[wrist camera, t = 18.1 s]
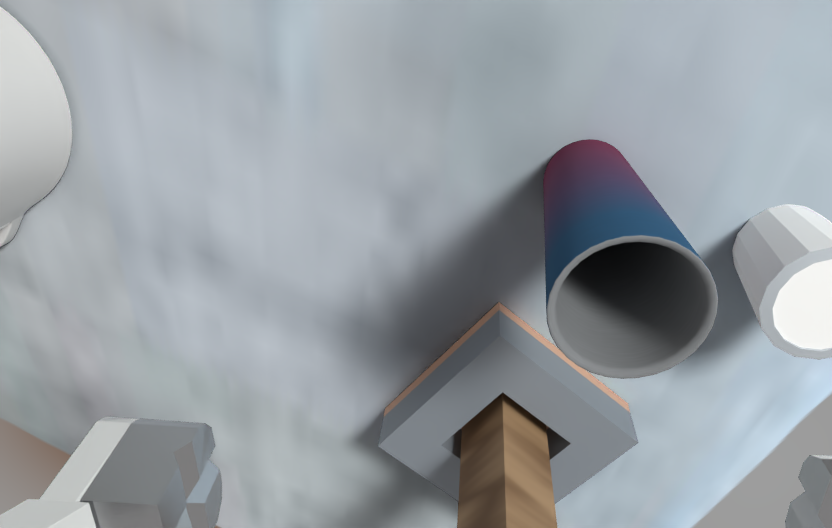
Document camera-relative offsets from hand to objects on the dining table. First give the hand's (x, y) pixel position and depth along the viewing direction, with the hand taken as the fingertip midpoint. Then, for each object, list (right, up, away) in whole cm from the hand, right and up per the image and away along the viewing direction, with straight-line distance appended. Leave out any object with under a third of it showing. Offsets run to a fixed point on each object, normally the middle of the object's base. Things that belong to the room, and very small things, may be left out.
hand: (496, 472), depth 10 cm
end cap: (+5, -7, +41) cm, 42 cm away
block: (+5, -8, +40) cm, 41 cm away
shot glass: (+21, +4, +34) cm, 40 cm away
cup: (+9, +8, +33) cm, 35 cm away
